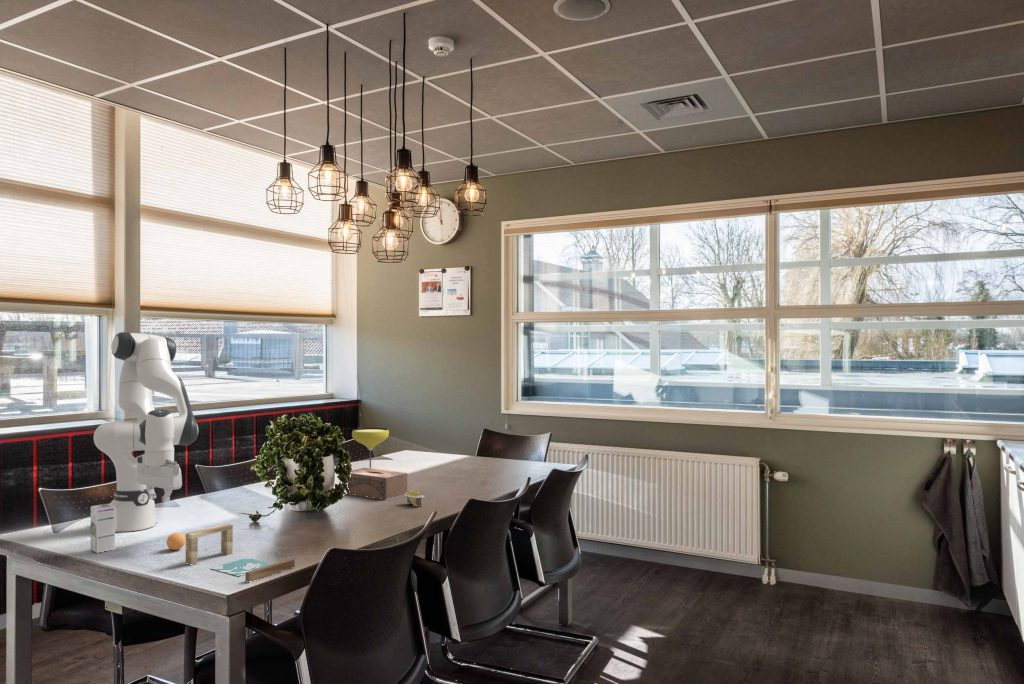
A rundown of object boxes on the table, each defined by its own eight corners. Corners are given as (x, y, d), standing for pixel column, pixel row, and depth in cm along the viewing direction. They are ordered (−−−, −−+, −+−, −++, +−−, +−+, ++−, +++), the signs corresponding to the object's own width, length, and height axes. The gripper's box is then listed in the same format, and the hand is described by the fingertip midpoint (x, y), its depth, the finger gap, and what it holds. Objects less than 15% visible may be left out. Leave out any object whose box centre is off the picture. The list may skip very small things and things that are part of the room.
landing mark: (210, 569, 211) (210, 568, 211) (246, 558, 222) (246, 557, 222) (238, 576, 204) (238, 576, 204) (274, 565, 215) (274, 564, 215)
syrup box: (115, 550, 230) (116, 505, 230) (95, 554, 226) (96, 508, 226) (109, 546, 234) (109, 502, 234) (89, 550, 229) (89, 505, 229)
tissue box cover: (342, 494, 320) (342, 472, 320) (364, 488, 332) (364, 467, 333) (386, 500, 307) (386, 477, 307) (407, 495, 319) (407, 472, 320)
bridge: (185, 563, 216) (185, 533, 216) (226, 552, 229) (226, 523, 229) (191, 565, 215) (191, 535, 215) (232, 553, 227) (232, 524, 227)
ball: (162, 550, 230) (163, 533, 230) (178, 546, 234) (178, 529, 234) (173, 553, 227) (173, 536, 227) (188, 549, 232) (188, 532, 232)
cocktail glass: (393, 481, 350) (394, 430, 350) (358, 484, 341) (358, 432, 341) (381, 475, 366) (381, 427, 366) (347, 478, 357) (347, 428, 357)
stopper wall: (245, 581, 200) (245, 572, 200) (289, 566, 214) (290, 558, 214) (250, 582, 199) (250, 573, 199) (294, 567, 213) (294, 559, 213)
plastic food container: (418, 512, 287) (418, 496, 287) (387, 506, 297) (387, 490, 297) (438, 507, 297) (438, 491, 297) (407, 501, 307) (407, 486, 307)
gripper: (187, 460, 233) (186, 502, 233) (150, 455, 244) (150, 495, 244) (169, 463, 228) (169, 505, 228) (132, 457, 238) (132, 498, 238)
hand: (159, 500), depth 236 cm, fingers open, 6 cm apart
